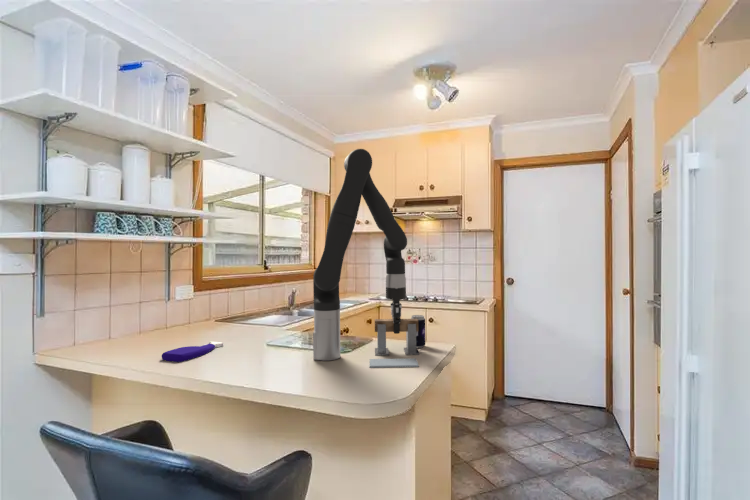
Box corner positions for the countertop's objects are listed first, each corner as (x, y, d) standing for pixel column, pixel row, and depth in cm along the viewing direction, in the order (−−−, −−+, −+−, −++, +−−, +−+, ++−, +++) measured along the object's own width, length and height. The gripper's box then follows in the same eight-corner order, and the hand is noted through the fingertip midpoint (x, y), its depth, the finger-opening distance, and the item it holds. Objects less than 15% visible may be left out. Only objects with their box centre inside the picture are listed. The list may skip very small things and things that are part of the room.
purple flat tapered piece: (182, 355, 139) (229, 340, 162) (158, 352, 142) (207, 338, 166) (182, 363, 139) (229, 348, 162) (158, 361, 142) (207, 346, 165)
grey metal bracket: (375, 355, 145) (374, 325, 145) (374, 349, 154) (374, 320, 154) (388, 355, 145) (388, 324, 145) (387, 349, 154) (387, 320, 154)
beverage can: (424, 348, 154) (424, 317, 154) (410, 348, 156) (409, 317, 156) (425, 345, 160) (425, 314, 160) (411, 344, 161) (411, 314, 161)
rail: (374, 332, 148) (374, 321, 148) (374, 329, 152) (374, 319, 152) (418, 331, 148) (418, 320, 148) (417, 329, 152) (417, 318, 152)
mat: (369, 367, 131) (369, 365, 131) (369, 360, 139) (369, 359, 139) (418, 367, 131) (418, 365, 131) (415, 360, 139) (415, 358, 139)
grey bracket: (405, 355, 146) (405, 324, 145) (403, 349, 154) (403, 320, 154) (419, 354, 146) (419, 324, 146) (416, 348, 154) (416, 320, 154)
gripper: (385, 284, 157) (385, 328, 157) (386, 288, 142) (387, 336, 142) (404, 284, 157) (404, 328, 157) (407, 287, 142) (408, 336, 143)
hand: (396, 331), depth 150 cm, fingers closed on rail, 4 cm apart
